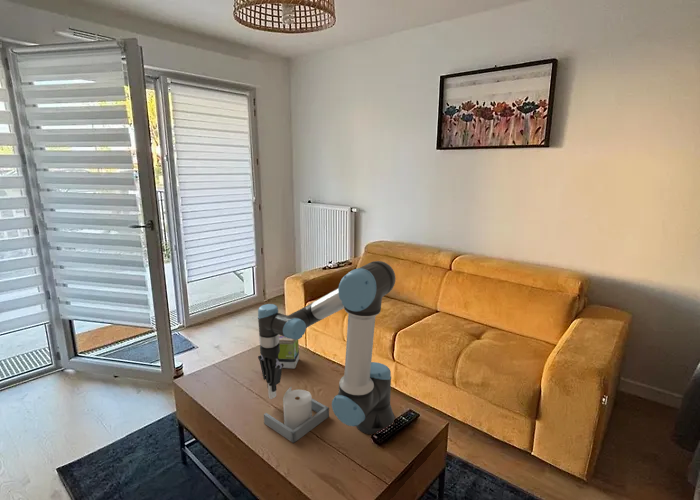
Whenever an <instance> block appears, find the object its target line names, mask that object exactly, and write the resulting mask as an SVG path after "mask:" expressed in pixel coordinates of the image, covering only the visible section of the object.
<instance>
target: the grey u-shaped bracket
mask: <svg viewBox="0 0 700 500" xmlns="http://www.w3.org/2000/svg"><path fill="white" fill-rule="evenodd" d="M311 399H312V412H315V414H314V415H312V417H311V418H309V419H308V420H307V421H305V422H304V423H302V424H301V425H300V426H298V427H297V428H295V429H294V430H292V429H291V428H289V427H288V426H286V425H285V423H283V422H281V421H280V420H279V419H276V418H275V417H274V416H272V415H270V414H269V413H267V412H265V413H263V423H264V425H266V426H267V427H269V428H270V429H271V430H273V431H275V432H276V433H277V434H279V435H281V436H282V437H283V438H285V439H286V440H289V442H291V443H292V444H294V443H296V442H297V441H299V440H300V439H301V438H303V437H304V436H305V435H307V434H308V433H309V432H310V431H312V430H313V429H314V428H316V427H317V426H318V425H320V424H321V423H322V422H324V421H325V420H327V419H328V418H329V417H330V408H329V406H327V405H325V404H323V403H321V402H319V401H317V400H316V399H315V398H312V397H311Z"/></svg>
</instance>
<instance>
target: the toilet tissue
mask: <svg viewBox="0 0 700 500" xmlns="http://www.w3.org/2000/svg"><path fill="white" fill-rule="evenodd" d="M311 398H312V394H311V392H310V391H307V390H305V389H293V390H292V386H290V387H289V388H288V389H287V390H286V392H284V395H283V398H282V405H283V407H282V408H283V422H284V423H283V424H284V425H286V426H288V427H289V428H291V429H292V430H294V429H295V428H297V427H298V426H300V425H301V424H302V423H304V422H305V421H307V420H308V419H309V418H311V417H312V416H313V410H312V399H313V398H312V399H311Z"/></svg>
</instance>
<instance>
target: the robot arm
mask: <svg viewBox="0 0 700 500" xmlns="http://www.w3.org/2000/svg"><path fill="white" fill-rule="evenodd" d="M395 284H396V274H395V271H394V269H393V267H392V266H391V265H390V264H388V263H387V262H385V261H381V260H376V261H371V262H369V263H366V264H364V265H362V266H360V267H357V268H355V269H352V270H351V271H348V273H346V274H345V275H344V276H343V277H342V278H341V280H340V282H339V284H338V287H337V288H335V289H334V290H332V291H330V292H329V293H327V294H325V295H323V296H322V297H320V298H318V299H316V300H315V301H313V302H311V303H309V304H308V305H306V306H304V307H302V308H300V309H298V310H296V311H294V312H293V313H290V314H283V313H281V312H279V307H278V305H277V304H273V303H266V304H262V305H261V306H259V307H258V310H257V320H258V323H257V324H258V337H259V339H258V341H259V352H260V353H259V354H260V355H258V357H257V358H258V360H259V364H260V368H261V374H262V378H263V380H264V381H265V382H266V383H267V384H266V386H267V390H268V391H267V392H268V398H269V400H272V399H275V397H277V385H278V384H280V383H281V378H282V371H283V369H284V368H283V366H284V365H283V363H282V364H280V362H279V358H278V354H279V352H280V344H279V335H282V336H284V337H286V338H289V339H290V338H291V339H295V340H298V341H299V340H300V339H301V338H303V335H305V333H306V330H307V328H309V327H311V326H313V325H314V324H316V323H318V322H320V321H322V320H324V319H326V318H328V317H330V316H331V315H334V314H336V313H338V312H340V311H341V310H344V311H345V312H346V313H347V316H348V317H347V330H346V331H347V332H346V343H345V345H346V348H345V361H344V374H343V376H342V377H341V378H340V379H339V381H338V383H339V384H338V393H337V395H335V396H334V398H333V399H332V401H331V408H332V412H333V413H334V415H335V416H336V418H337V419H338V420H339V421H340V422H341V423H342V424H343V425H346V426H349V427H356V429H358V431H360V432H362V433H363V434H367V435H370V434H374V433H376V432H377V431H379V430H381V429H383V428H385V427H387V426H389V425H391V424H392V423H393V422H394V420H395V413H394V412H393V409H392V405H391V393H392V392H391V389H392V388H391V387H392V386H391V385H392V383H391V381H392V373H391V369H390V368H389V366H388V365H385V364H384V363H381V362H377V361H376V362H375V361H372V357H373V347H374V336H375V324H376V316H378V315H379V314H380V313H381V310H382V303H383V302H382V300H383V297H385V296H387V294H390V292H391V291H392V290H393V288H394V286H395Z"/></svg>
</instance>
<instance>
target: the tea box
mask: <svg viewBox="0 0 700 500" xmlns="http://www.w3.org/2000/svg"><path fill="white" fill-rule="evenodd" d="M279 344H280V352H279V354H278V358H279V362H280V364H282V363H283V365H284V366H283V368H282V369H296V367H297V364H298V362H299V360H300V351H299V350H300V348H299V347H300V346H299V339H298V340H295V339H291V338H290V339H289V338H286V337H284V336H282V335H279Z"/></svg>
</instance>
